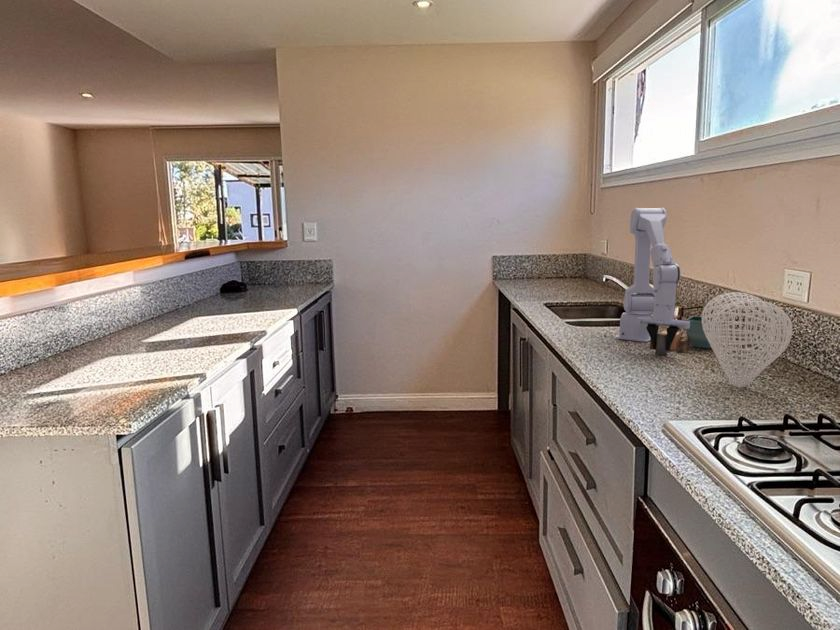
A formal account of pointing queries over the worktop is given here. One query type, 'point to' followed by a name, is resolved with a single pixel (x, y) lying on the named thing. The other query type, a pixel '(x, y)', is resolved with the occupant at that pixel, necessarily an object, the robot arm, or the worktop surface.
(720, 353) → the heart
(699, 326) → the flower pot
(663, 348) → the tethered block
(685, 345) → the lane
